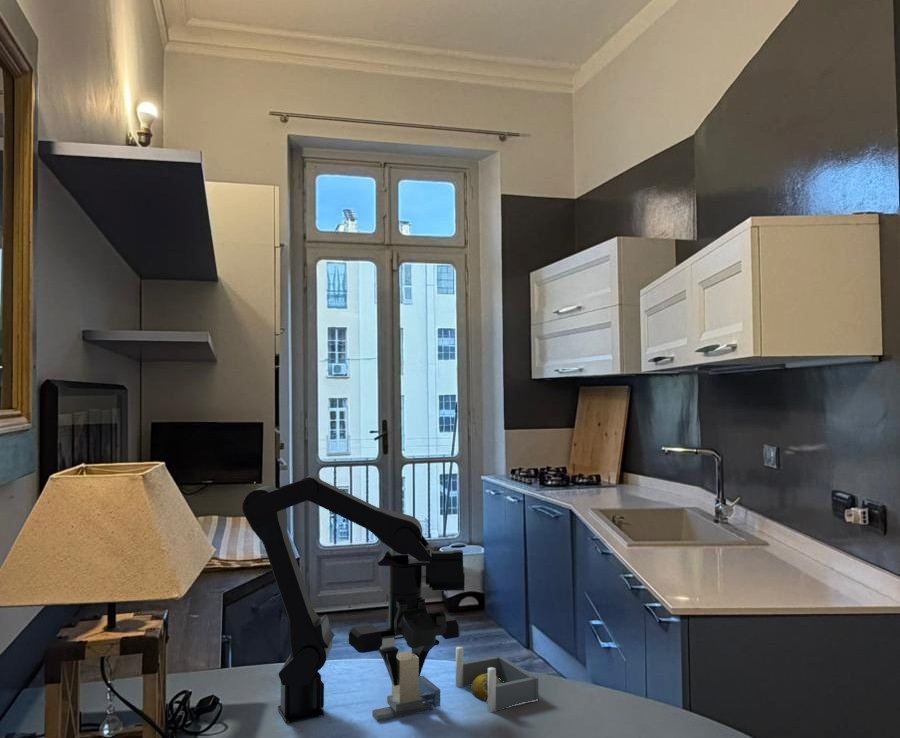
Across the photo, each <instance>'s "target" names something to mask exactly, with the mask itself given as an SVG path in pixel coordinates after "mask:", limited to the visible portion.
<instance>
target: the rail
mask: <svg viewBox="0 0 900 738" xmlns="http://www.w3.org/2000/svg"><path fill="white" fill-rule="evenodd" d="M432 710H433V705H432V704H431V703H429V702H428V701H423V707H418V708H413V709H409V710H404V711H399V712H396V711H395V710H394V709H393V708H392V707H391V706H390V705H389V706H386V707H385V706H384V707H381V708H377V709H372V717H373V719H374V720H375V721H376V723H377V722H383V721H388V720H392V719H398V718H402V717H405V716H411V715H416V714H419V713H420V714H421V713H424V712H428V711H429V712H430V711H432Z"/></svg>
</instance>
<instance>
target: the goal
mask: <svg viewBox="0 0 900 738" xmlns="http://www.w3.org/2000/svg"><path fill="white" fill-rule="evenodd" d="M486 673H488V698H487V699H488V704H487V711H488V712H489V711H490V712H489V713H494V712H493V711H495V712H497V711H496V710H498V711H501V710H500V709H502V710H504V709H503V708H506V707H509V706H512V705H515V704H519V703H522V702H528V701H532V700H536V699H539V697H540V696H539V677H537V676H535V675H534V674H532V673H530V672H529V671H527V670H525V669H524V668H522V667H521V666H519V665H517V664H516V663H514V662H513V661H511V660H510V659H507V658H506V657H504V656H502V655H495V656H490V657H486V658H480V659H474V660H468V661H464V646H456V647H455V687H456V688H463V687H466V686H465V685H468V686H470V685H469V684H472V683H473V681H474V679H475V678H476V677H477V676H479V675H482V674H486ZM496 676H497V677H498V678H500V679H501V680H503V681H504V682H505V683H504V682H503V681H502V682H501V684H496ZM500 679H499V680H500ZM501 680H500V681H501Z"/></svg>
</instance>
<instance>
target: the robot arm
mask: <svg viewBox="0 0 900 738" xmlns="http://www.w3.org/2000/svg"><path fill="white" fill-rule="evenodd" d="M305 502H311V503H313V504H315V505H317V506H319V507H321V508H323V509H326V510H327V511H329V512H331V513H332V514H336V515H338V516H340V517H341V518H344V519H346V520H347V521H349V522H352V523H354V524H356V525H358V526H360V527H362V528H364V529H366V530H367V531H369V532H370V533H371V534H373V535H374V536H375V537H376V538H377V539H378V540H379V541H380V542H381V543H383V544H384V545H386V546H387V547H388V548H389V549H387V550H386V551H385V553H384V554H383V555H382V556H381V557H380V558H379V559H378V562H377V565H378V566H379V567H388V594H386V596H385V597H386V598H385V600H386V601H387V602H388V617H386V619H385V622H386V625H387V626H388V628H383V629H382V628H381V629H378V628H377V627H376V626H374V625H373V624H371V623H370V624H365V625H356V626H352V628H351V629H350V630H349V632H348V644H349V645H350V647H352V648H353V649H354V650H356V652H358V653H359V654H360V653H361V654H366V653H372V652H378V653H380V655H381V658H382V659H383V663H384V665H385V667H386V670H387V673H388V675H389V678H390V681H391V685H392V684H393V685H394V686H397V659H396V656H397V653H398V652H399V650H400V649H399V648H397V647H396V646H395V640H399V639H404V640H405V642H406V645H407V646H408V647H409V648H410V649H411V652H412V653H414V654H415V655H416V656H417V657H419V676H421V672H422V670H423V668H424V665H425V662H426V659H427V656H428V655H429V652H430V651H431V650H432V649H433V648H434V647H436V646H438V645H439V644H440V641H439V640H438V639H437V636H441V637H442V638H443V639H444V640H449V639H456V638H459V637H461V625H460V623H459V621H458V620H457V619H455V618H454V617H452V616H450V615H449V614H447V613H445V612H444V611H443V610H441V611H434V612H428V610H427V606H426V604H427V602H426V599H425V598H424V597H423V567H425V585H426V586H428V588H430V589H431V590H432V592H465V582H466V581H465V567H464V551H463V550H462V549H455V550H444V551H443V550H442V551H441V550H439V551H437V550H433V548H432V546H431V544H430V543H429V542H428V540H427V539H426V537H425V536H424V535H423V527H422V524H421V522H420V520H418V519H417V518H416V517H414V515H409V514H405V513H402V512H398V511H395V510H390V509H384V508H380V507H378V506H376V505H373V504H372V503H369V502H367V501H365V500H363V499H362V498H359V497H357V496H355V495H353V494H350V493H349V492H347V491H346V490H345V491H344V490H343V489H340V488H339V487H336V486H335V485H332V484H330V483H328V482H326V481H324V480H322V479H321V478H320V477H319V476H317V475H308V476H306V477H303V478H301V479H300V480H297V481H294V482H291V483H289V484H288V483H287V484H284V485H282V486H278V487H275V486H272V485H265V486H261V487H259V488H257V489H255V490H253V491H251V492H249V493H248V494H247V495H246V496H245V498H244V500H243V502H242V505H241V508H242V509H241V510H242V513H243V515H244V517H245V519H246V520H247V521H246V522H247V523H248V524H249V526H250V528H251V530H252V531H253V533H254V534H255V535H256V537H257V538H258V539H259V540H260V541H261V543H262V545H263V547H264V549H265V553H266V555H267V559H268V562H269V566H270V568H271V571H272V574H273V577H274V580H275V582H276V586H277V589H278V592H279V595H280V597H281V600H282V601H281V602H282V603H283V607H284V610H285V612H286V616H287V618H288V623H289V645H290V652H291V653H290V654H289V656H288V658H287V659H286V661H285V662H284V664H283V665H282V668H281V669H280V670H279V672H278V677H279V680H280V705H278V706H277V710H278V712H279V714H280V715H281V717H282V719H283V720H284V721H285V723H287V724H288V723H289V724H290V723H294V722H299V721H304V720H308V719H313V718H318V717H323V716H325V712H324V710H323V708H324V707H325V683H324V682H323V681H322V674H321V673H320V672H319V671H320V670H321V669H322V668H323V667H324V666H325V664H326V662H327V659H328V658H329V655H330V653H331V651H332V648H333V643H334V642H333V639H334V637H335V633H334V632H333V631H332V629H331V626H330V622H329V617H328V615H327V614H324V615H323V616H321V617H320V616H319V615H318V613H316V611H315V610H314V608H313V605H312V603H311V599H310V596H309V594H308V591H307V587H306V585H305V582H304V578H303V576H302V573H301V570H300V567H299V564H298V561H297V558H296V557H297V556H296V555H295V552H294V549H293V545H292V543H291V540H290V537H289V534H288V513H287V509H288V508H291V507H293V506H296V505H299V504H301V503H305ZM391 550H392V551H394V552H396V553H393V552H392V551H391ZM397 553H398V554H397ZM410 556H411V557H412V558H410Z"/></svg>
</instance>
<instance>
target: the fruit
mask: <svg viewBox="0 0 900 738" xmlns="http://www.w3.org/2000/svg"><path fill="white" fill-rule="evenodd" d="M501 683H502V681H501V680H500V679H499V678H498V677H497V676H496V684H501ZM470 690H471V692H472V695H474V697H475V696H477V697H476V698H477V699H479V698H480V700H482V699H483V701H485V700H486V704H487V705H488V673H486V674H482V675H479V676H477V677H476V678H475V679H474V681H473V683H472V685H471V688H470Z"/></svg>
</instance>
